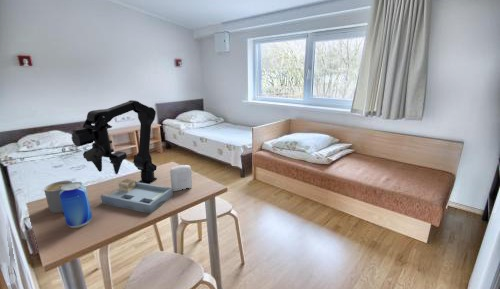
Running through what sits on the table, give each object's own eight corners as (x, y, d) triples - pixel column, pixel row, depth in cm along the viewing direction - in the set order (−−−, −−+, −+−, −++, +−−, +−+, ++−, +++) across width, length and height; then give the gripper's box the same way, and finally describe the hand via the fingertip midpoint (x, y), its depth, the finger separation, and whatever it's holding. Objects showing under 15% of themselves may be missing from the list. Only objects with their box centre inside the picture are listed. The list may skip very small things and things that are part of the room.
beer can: (64, 231, 94) (55, 192, 89) (69, 219, 101) (61, 183, 96) (90, 226, 97) (82, 188, 92) (93, 214, 104) (86, 179, 100)
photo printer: (191, 184, 131) (189, 162, 128) (193, 188, 128) (191, 165, 124) (170, 188, 127) (168, 165, 123) (172, 192, 123) (170, 168, 119)
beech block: (127, 186, 125) (126, 178, 123) (135, 187, 123) (134, 180, 122) (119, 190, 120) (118, 183, 119) (128, 192, 119) (127, 184, 117)
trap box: (128, 187, 127) (127, 180, 126) (172, 195, 120) (172, 188, 119) (102, 203, 113) (100, 195, 112) (150, 213, 105) (149, 205, 104)
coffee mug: (46, 206, 110) (41, 186, 107) (73, 198, 117) (69, 178, 114) (54, 218, 101) (49, 196, 98) (83, 208, 108) (78, 187, 105)
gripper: (67, 143, 105) (76, 177, 110) (104, 147, 99) (111, 183, 105) (90, 136, 115) (97, 167, 120) (124, 139, 110) (130, 172, 115)
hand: (108, 172), depth 114 cm, fingers open, 9 cm apart
